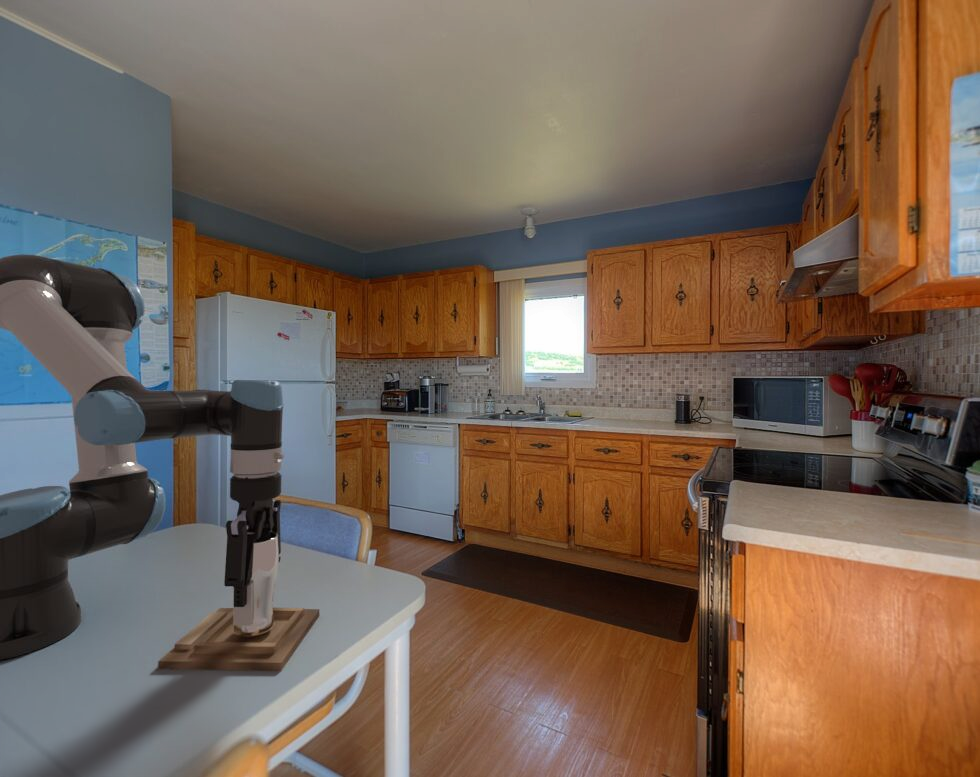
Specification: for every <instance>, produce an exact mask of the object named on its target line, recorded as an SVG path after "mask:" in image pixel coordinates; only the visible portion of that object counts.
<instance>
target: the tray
mask: <svg viewBox="0 0 980 777" xmlns="http://www.w3.org/2000/svg"><path fill="white" fill-rule="evenodd" d="M273 614H274V619H275V624H274V626H273V627H272V628H271V629H270V630H269V631H267V632H265V633H263V634H260V635H257V636H253V637H240V636H237V635H235V634H234V632H233V628H234V625H233V607H220V608H218V609H217V610H216V611H212V612H211V613H209V614H208V615H207V616H206V617H204V618H203V619H202V620H201V621H200V622H199V623H198V624H196V626H194V627H193V628H192V629H190V630H189V632H187V633H186V634H184V636H182V637H181V638H179V640H178V641H177V642H176V643H174V647H172V649H170V650H169V651H168V652H167V653H166V654H164V656H163V657H161V658H160V659H159V660H158V661H157V670H177V671H178V670H183V671H186V670H187V671H188V670H190V671H195V670H198V671H264V672H265V671H267V672H268V671H271V672H272V671H274V672H276V671H277V672H278V671H279V672H282V670H283V669H284V667H285V666H286V665H287V663H288V661H289V660H291V658H292V656H293V654H294V653H295V651H296V650H297V649H298V647H299V646H300V645H301V643H302V641H303V640H304V638H305V637H306V636H307V634H308V633H309V632H310V630H311V629H312V628H313V626H314V624H316V622H317V620H318V619H319V618H320V608H314V609H312V608H305V607H273Z"/></svg>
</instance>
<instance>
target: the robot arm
mask: <svg viewBox="0 0 980 777" xmlns="http://www.w3.org/2000/svg"><path fill="white" fill-rule="evenodd" d="M144 316H145V301H144V296H143V294H142V292H141V289H140V288H139V287H138V285H137V284H136V283H135V282H134V281H133V280H132V279H131V278H129V277H127V276H126V275H124V274H121V273H116V272H114V271H112V270H108V269H105V268H101V267H98V268H97V267H93V266H92V267H91V266H88V265H83V264H78V263H74V262H69V261H64V260H59V259H55V258H49V257H47V256H41V255H36V254H21V253H20V254H13V255H8V256H3V257H0V329H2V330H4V331H9V332H10V333H11V334H12V335H13V336H14V337H15V338H16V339H17V340H18V341H19V342H20V343H21V344H22V345H23V346H24V347H25V349H26V350H28V352H29V353H31V355H32V356H33V357H34V358H35V359H36V360H37V361H38V362H39V363H40V364H41V365H42V366H43V367H44V368H45V369H46V371H47V372H48V373H49V374H50V375H51V376H52V377H53V378H54V379H55V380H56V381H57V382H58V383H59V384H60V385H61V386H62V387H63V388H64V389H65V391H66V392H68V393H69V395H70V396H71V405H72V414H73V415H72V416H73V425H74V434H75V435H74V436H75V443H76V454H77V464H78V471H77V472H76V473H75V475H74V476H72V478H71V479H70V480H69V481H68V486H69V487H68V488H69V489H68V488H67V487H65V486H61V485H46V486H45V485H44V486H39V487H35V488H30V487H29V488H25V489H21V490H15V491H11V492H8V493H4V494H0V661H3V660H7V659H11V658H15V657H19V656H23V655H25V654H29V653H31V652H34V651H35V652H36V651H37V650H40V649H42V648H45V647H47V646H49V645H52V644H53V643H56V642H58V641H60V640H62V639H64V638H66V637H68V636H69V635H70V634H71V633H73V632H74V631H75V630H76V629H77V628H79V626H80V625H81V622H82V608H81V605H80V603H79V602H78V601H76V597H75V594H74V591H73V588H72V586H71V584H70V582H69V561H70V560H72V559H76V558H79V557H83V556H86V555H89V554H93V553H96V552H99V551H103V550H106V549H110V548H113V547H116V546H119V545H127V544H129V543H132V542H133V541H135V540H138V539H141V538H145V537H146V536H148V535H150V534H152V533H153V532H154V531H155V530H156V529H157V528H158V526H159V525H160V524H161V522H162V519H163V517H164V514H165V510H166V502H167V500H166V493H165V490H164V488H163V487H161V483H160V481H158V480H157V479H155V478H153V477H152V478H151V477H149V474H148V468H146V467H144V466H143V465H142V464H139V463H138V461H137V460H138V459H137V452H136V444H137V443H144V442H145V443H146V442H153V441H161V440H169V439H179V438H190V437H199V436H214V435H215V436H229V437H230V459H229V460H230V465H229V466H230V467H229V472H230V474H232V476H231V477H230V478H229V498H230V499H231V500H233V502H234V501H235V502H236V503H238V508H237V512H236V518H235V519H234V520H227V521H226V523H225V529H226V536H227V537H226V538H227V539H226V551H225V552H226V554H225V565H224V566H225V568H224V580H223V581H224V584H223V585H224V587H232V588H233V587H234V588H233V595H232V597H233V600H232V602H233V603H232V605H233V607H232V608H233V625H240V626H251V625H252V624H253V583H254V582H250V580H251V574H252V568H253V551H254V543H257V542H263V541H266V540H269V539H271V533H270V532H271V531H273V532H276V533H277V534H278V551H279V562H278V564H279V563H280V562H281V556H280V554H281V551H282V550H281V548H282V546H281V543H282V542H281V518H280V517H281V515H280V514H281V505H282V501H281V499H276V498H278V497H279V496H280V495H281V494H282V474H281V473H280V472H279V471H280V470H282V460H283V459H284V457H285V455H284V454H283V453H282V445H283V443H282V442H283V441H282V439H283V438H282V436H283V435H282V432H283V409H284V402H283V401H284V400H283V387H282V385H281V383H280V382H279V381H278V380H274V379H273V380H268V379H266V380H264V379H262V380H261V379H235V380H233V381H232V384H231V388H230V389H231V390H230V391H229V390H210V389H205V388H204V389H192V390H149V389H147V388H146V386H144V385H143V383H141V382H139V380H138V379H137V378H136V377H135V376H134V375H133V374H132V373H130V372H129V370H128V368H127V367H128V366H127V358H126V350H125V348H126V347H125V344H126V343H127V341H129V340H130V339H131V338H132V337H133V336H134V334H133V331H134V330H136V329H138V328H139V327H140V325H141V324H142V322H143V318H142V317H144ZM247 533H254V534H247ZM274 596H275V594H273V601H272V604H273V602H274V601H275V597H274Z"/></svg>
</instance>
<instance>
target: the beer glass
mask: <svg viewBox="0 0 980 777" xmlns="http://www.w3.org/2000/svg"><path fill="white" fill-rule="evenodd" d="M270 533H271V539H269V540H266V541H263V542H257V543H254V551H253V568H252V574H251V580H250V582H254V583H253V624H252V625H251V626H240V625H234V628H233V632H234V634H235V635H237V636H240V637H253V636H257V635H260V634H263V633H265V632H267V631H269V630H270V629H271V628H272V627H273V626H274V624H275V619H274V614H273V608H274V607H273V603H272V601H273V594H274V593H275V587H276V583H277V578H278V570H279V563H280V562H279V557H280V555H279V551H278V534H277V533H276V532H273V531H271V532H270ZM247 534H254V533H247ZM278 562H279V563H278ZM232 588H233V589H234V587H233V586H232ZM274 595H275V594H274Z"/></svg>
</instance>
